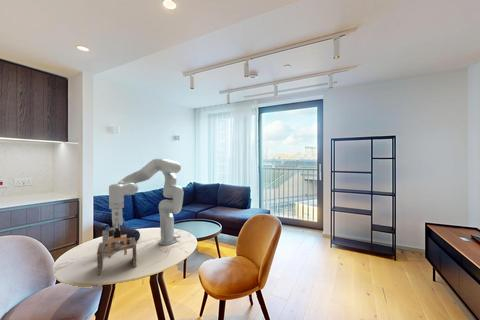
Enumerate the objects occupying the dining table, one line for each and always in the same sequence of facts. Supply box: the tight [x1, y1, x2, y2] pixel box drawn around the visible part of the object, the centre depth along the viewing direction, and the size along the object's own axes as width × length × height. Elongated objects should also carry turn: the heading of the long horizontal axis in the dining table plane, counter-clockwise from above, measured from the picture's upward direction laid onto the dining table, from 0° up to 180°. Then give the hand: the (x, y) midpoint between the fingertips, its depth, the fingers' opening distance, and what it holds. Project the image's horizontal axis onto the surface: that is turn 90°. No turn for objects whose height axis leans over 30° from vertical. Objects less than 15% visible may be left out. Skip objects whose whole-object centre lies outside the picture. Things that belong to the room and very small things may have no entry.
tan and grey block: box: [107, 229, 128, 259], centre depth 129 cm, size 9×4×15 cm, turn 118°
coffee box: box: [101, 226, 119, 256], centre depth 147 cm, size 9×6×16 cm
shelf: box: [96, 237, 137, 277], centre depth 129 cm, size 19×14×14 cm
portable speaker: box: [120, 225, 141, 244], centre depth 167 cm, size 25×10×10 cm, turn 59°
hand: (117, 236), depth 129 cm, fingers closed on tan and grey block, 3 cm apart
